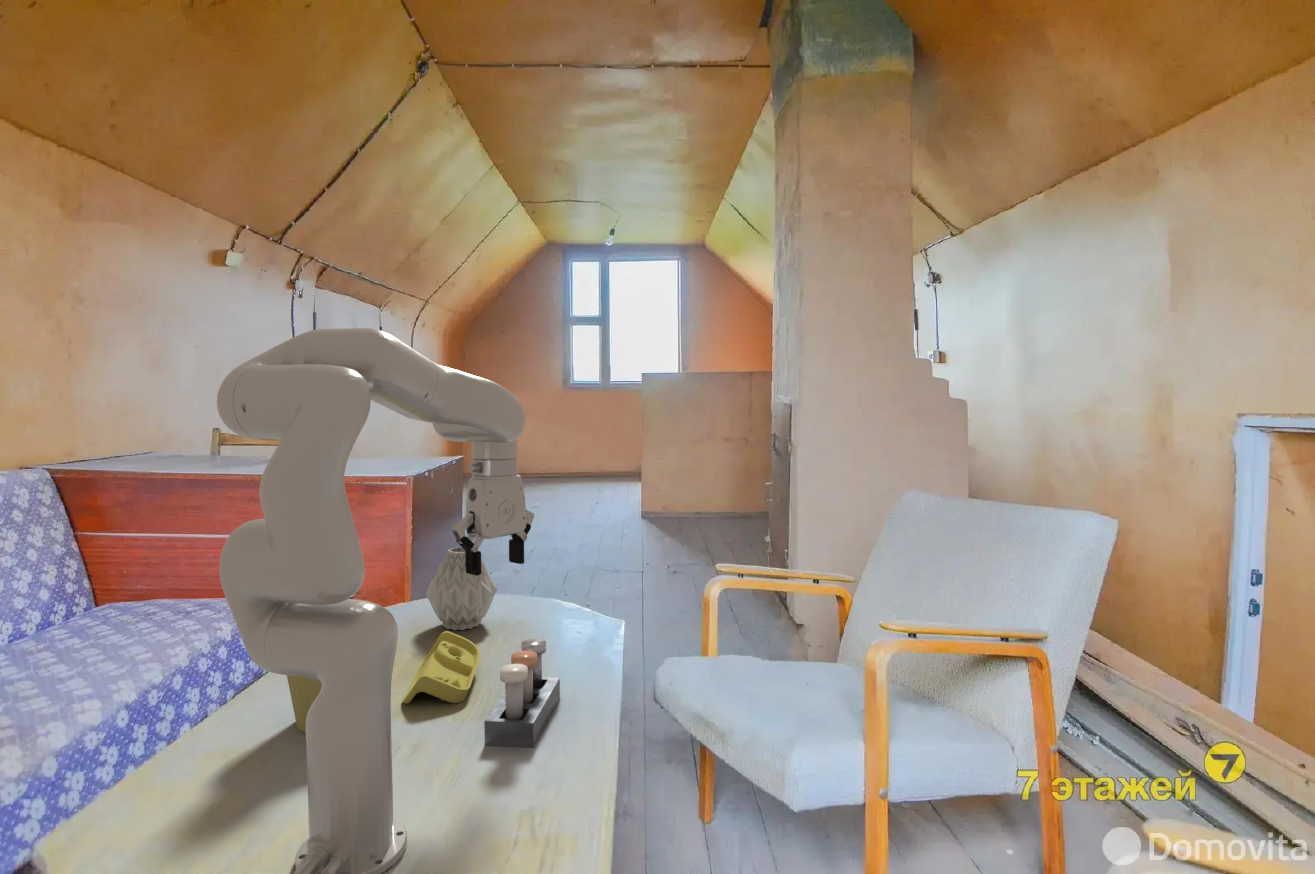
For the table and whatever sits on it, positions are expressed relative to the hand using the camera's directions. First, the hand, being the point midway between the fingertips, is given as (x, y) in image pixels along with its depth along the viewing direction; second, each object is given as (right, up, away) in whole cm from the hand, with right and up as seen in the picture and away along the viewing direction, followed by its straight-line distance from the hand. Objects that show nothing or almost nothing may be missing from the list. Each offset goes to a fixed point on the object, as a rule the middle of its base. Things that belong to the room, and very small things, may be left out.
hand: (495, 568), depth 124 cm
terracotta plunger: (+5, -23, +1) cm, 24 cm away
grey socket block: (+5, -26, +1) cm, 27 cm away
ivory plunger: (+4, -24, -5) cm, 25 cm away
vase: (-19, -23, +50) cm, 59 cm away
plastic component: (-13, -26, +16) cm, 33 cm away
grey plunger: (+5, -23, +7) cm, 24 cm away
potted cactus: (-28, -26, +1) cm, 39 cm away
